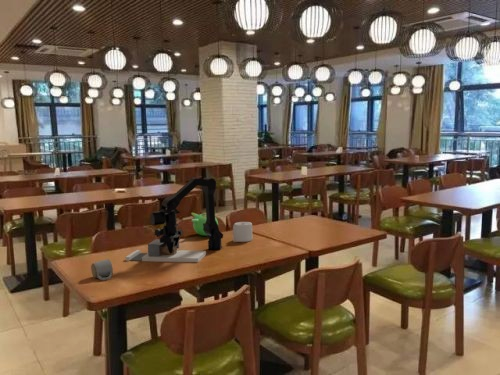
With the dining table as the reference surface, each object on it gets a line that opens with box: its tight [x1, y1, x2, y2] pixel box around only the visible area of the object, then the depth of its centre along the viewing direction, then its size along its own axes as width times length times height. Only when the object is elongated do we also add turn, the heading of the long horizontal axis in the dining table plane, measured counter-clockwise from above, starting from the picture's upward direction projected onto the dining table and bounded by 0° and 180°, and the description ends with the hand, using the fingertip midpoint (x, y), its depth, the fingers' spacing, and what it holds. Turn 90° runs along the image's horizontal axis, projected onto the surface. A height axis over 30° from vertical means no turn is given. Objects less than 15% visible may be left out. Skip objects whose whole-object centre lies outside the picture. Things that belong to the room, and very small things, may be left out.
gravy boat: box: [191, 212, 219, 237], centre depth 279 cm, size 18×17×15 cm
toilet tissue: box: [232, 221, 254, 243], centre depth 263 cm, size 11×12×10 cm
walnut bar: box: [160, 245, 178, 255], centre depth 232 cm, size 14×4×4 cm, turn 80°
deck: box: [125, 249, 207, 263], centre depth 232 cm, size 39×14×2 cm, turn 80°
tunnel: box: [147, 238, 166, 257], centre depth 232 cm, size 6×11×6 cm, turn 170°
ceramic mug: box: [90, 258, 114, 281], centre depth 202 cm, size 11×8×8 cm
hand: (172, 252), depth 231 cm, fingers closed on walnut bar, 4 cm apart
